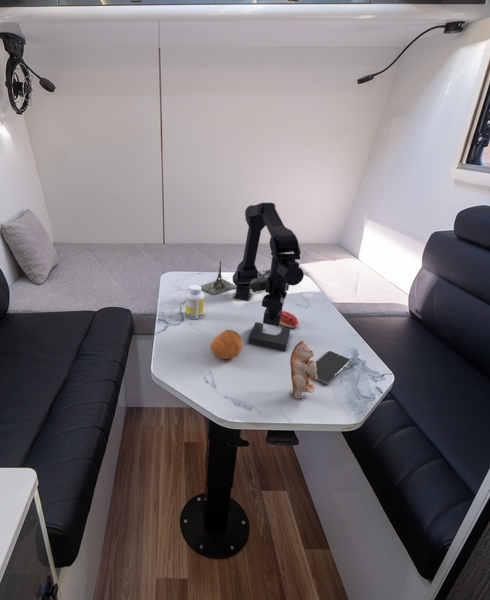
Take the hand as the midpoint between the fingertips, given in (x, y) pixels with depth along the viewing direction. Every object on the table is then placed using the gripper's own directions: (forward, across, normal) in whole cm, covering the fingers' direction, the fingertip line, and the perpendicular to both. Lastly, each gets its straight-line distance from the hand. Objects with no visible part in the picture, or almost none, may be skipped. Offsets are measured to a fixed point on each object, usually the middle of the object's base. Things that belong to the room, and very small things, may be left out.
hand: (273, 316), depth 125 cm
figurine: (+8, +27, +12) cm, 31 cm away
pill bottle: (+8, -4, -29) cm, 30 cm away
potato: (+8, +17, -11) cm, 22 cm away
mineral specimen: (+8, -41, -10) cm, 43 cm away
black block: (+2, 0, 0) cm, 2 cm away
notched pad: (+8, +2, 0) cm, 8 cm away
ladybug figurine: (+8, -12, +4) cm, 15 cm away
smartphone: (+8, +12, +19) cm, 24 cm away
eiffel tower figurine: (+8, -33, -28) cm, 44 cm away
